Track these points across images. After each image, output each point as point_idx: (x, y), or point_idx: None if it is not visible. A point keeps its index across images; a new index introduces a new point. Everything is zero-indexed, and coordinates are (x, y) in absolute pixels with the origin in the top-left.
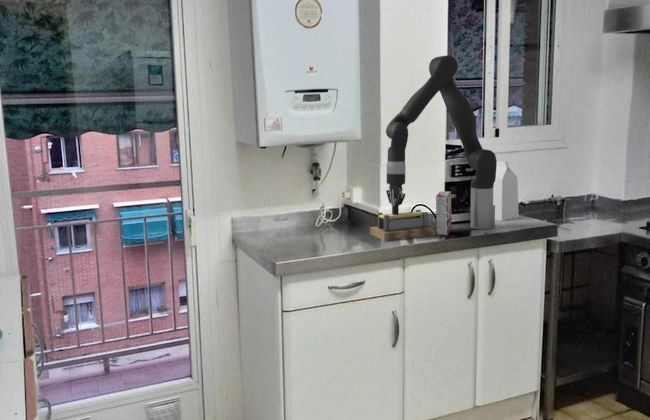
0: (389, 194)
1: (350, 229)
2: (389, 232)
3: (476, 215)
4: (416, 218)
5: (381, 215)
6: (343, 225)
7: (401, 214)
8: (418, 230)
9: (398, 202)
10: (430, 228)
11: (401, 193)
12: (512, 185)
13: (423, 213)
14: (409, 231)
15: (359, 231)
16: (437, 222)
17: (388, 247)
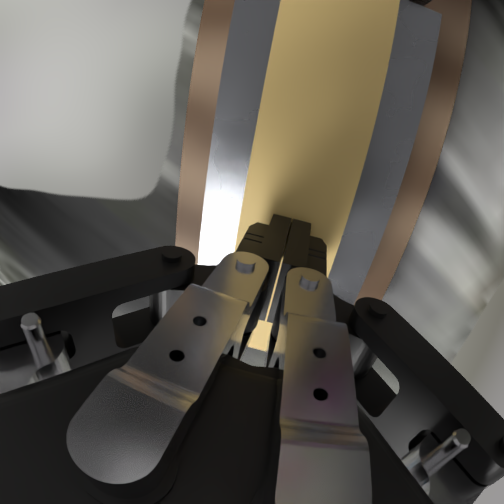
0: (77, 365)
1: (71, 253)
2: (366, 296)
3: None
4: (428, 81)
5: (253, 343)
6: (15, 229)
7: (318, 183)
8: (450, 114)
9: (371, 363)
10: (466, 24)
11: (467, 498)
12: None
13: None
14: (429, 180)
15: (114, 252)
16: None
17: (445, 350)
